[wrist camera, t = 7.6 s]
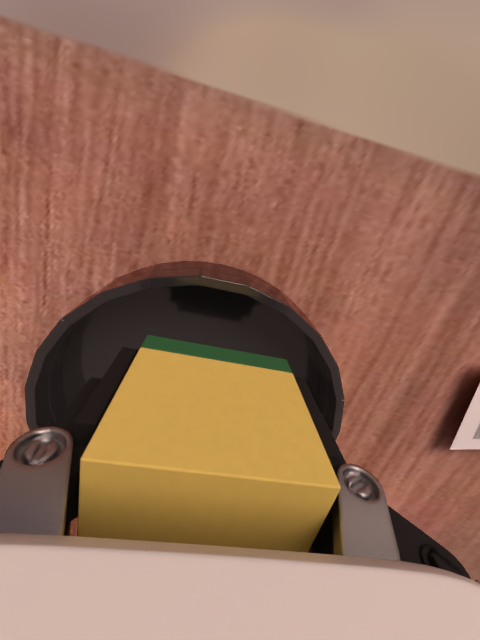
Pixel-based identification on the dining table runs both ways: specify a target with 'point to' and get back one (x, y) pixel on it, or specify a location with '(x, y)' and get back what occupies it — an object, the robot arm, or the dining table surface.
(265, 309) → the pan
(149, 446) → the sponge
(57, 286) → the dining table surface
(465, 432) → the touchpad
